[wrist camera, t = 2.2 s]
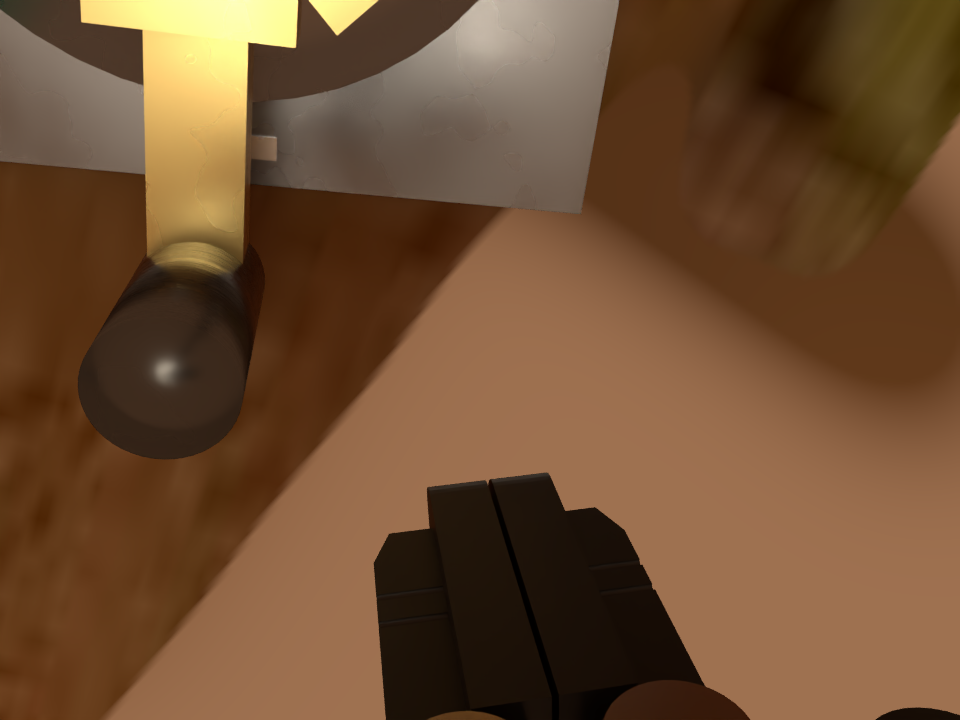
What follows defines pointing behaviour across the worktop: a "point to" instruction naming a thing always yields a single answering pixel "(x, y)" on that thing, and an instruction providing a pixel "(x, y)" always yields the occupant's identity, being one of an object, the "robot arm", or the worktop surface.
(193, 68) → the gold notched piece
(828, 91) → the worktop surface
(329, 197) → the worktop surface
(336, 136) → the bearing housing
